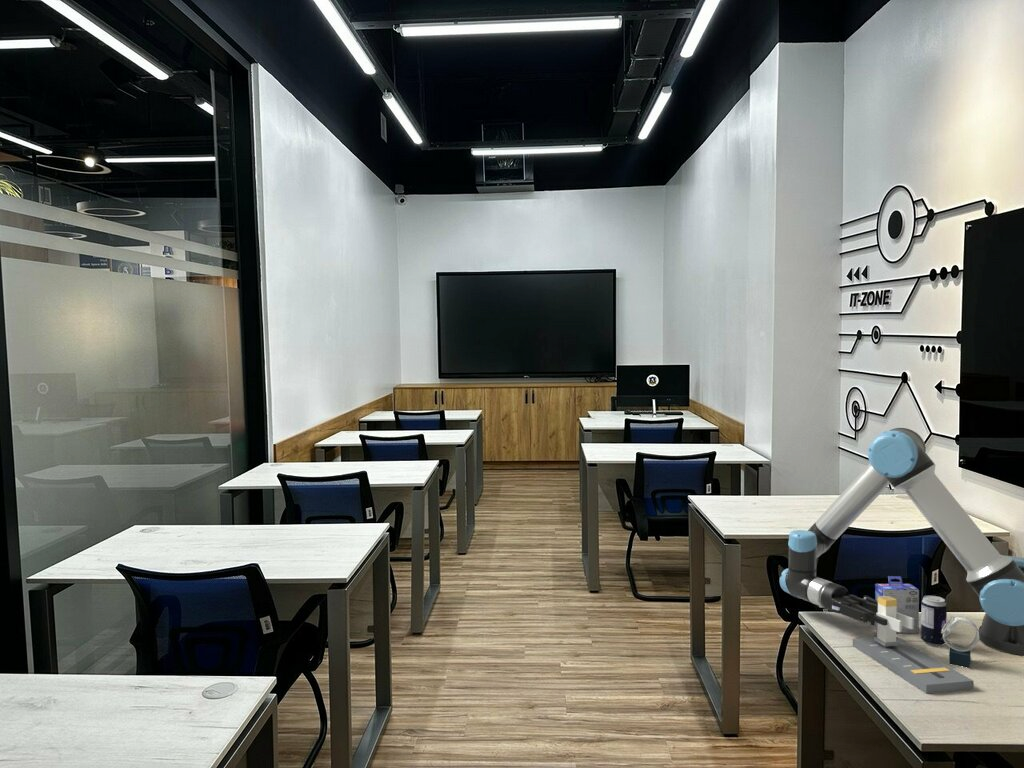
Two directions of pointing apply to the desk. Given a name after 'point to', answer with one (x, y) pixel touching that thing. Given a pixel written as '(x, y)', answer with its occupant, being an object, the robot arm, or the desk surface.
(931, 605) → the beverage can
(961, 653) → the watch
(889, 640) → the fader handle
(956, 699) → the desk surface
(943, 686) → the fader console
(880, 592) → the ink cartridge box
